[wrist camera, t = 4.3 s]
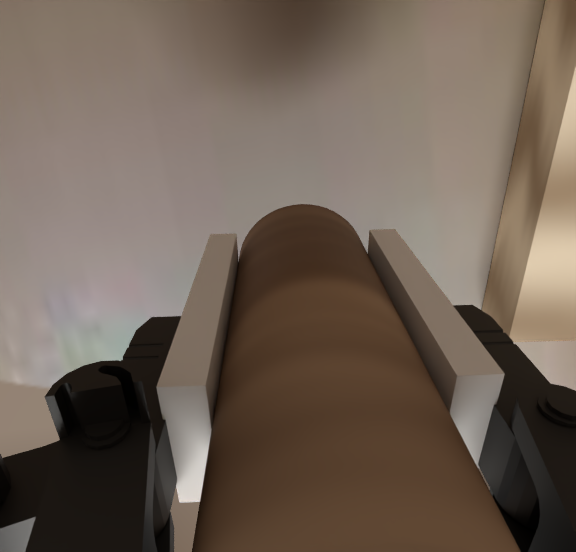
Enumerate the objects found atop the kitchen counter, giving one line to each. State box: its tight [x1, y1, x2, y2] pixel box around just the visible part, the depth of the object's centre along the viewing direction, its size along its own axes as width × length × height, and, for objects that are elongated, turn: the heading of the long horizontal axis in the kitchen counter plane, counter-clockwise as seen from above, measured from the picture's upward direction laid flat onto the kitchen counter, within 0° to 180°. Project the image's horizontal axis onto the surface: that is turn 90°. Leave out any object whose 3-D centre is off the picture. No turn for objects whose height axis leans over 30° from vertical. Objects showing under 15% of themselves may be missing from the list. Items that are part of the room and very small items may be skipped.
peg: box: [192, 204, 521, 552], centre depth 9 cm, size 4×4×10 cm
